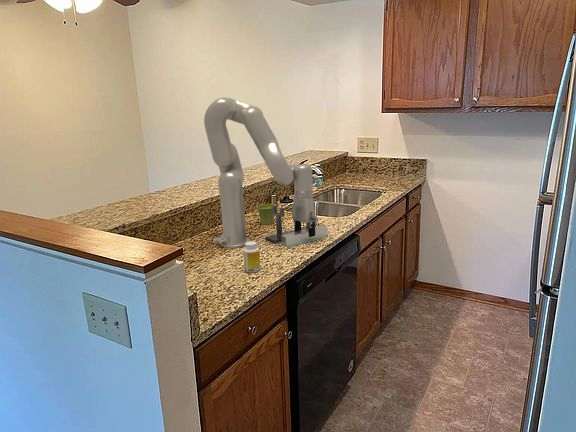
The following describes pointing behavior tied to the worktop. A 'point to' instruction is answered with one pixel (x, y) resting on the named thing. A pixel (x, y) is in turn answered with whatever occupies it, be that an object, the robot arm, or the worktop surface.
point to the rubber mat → (304, 241)
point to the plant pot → (266, 213)
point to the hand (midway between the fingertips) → (304, 233)
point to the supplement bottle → (251, 257)
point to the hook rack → (280, 227)
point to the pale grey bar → (303, 235)
